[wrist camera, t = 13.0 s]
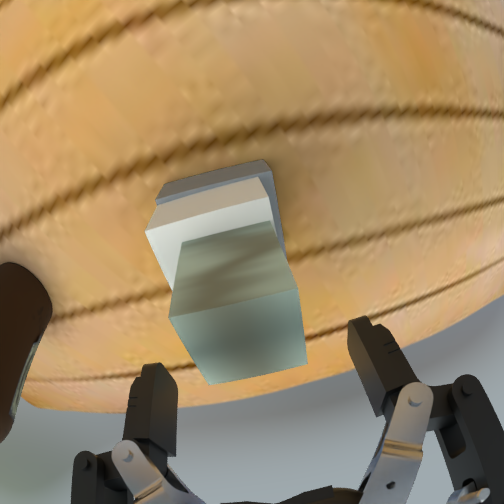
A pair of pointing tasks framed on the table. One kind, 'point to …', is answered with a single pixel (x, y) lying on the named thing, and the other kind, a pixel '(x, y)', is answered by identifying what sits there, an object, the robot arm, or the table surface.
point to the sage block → (238, 305)
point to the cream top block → (205, 218)
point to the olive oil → (18, 335)
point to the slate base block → (223, 178)
